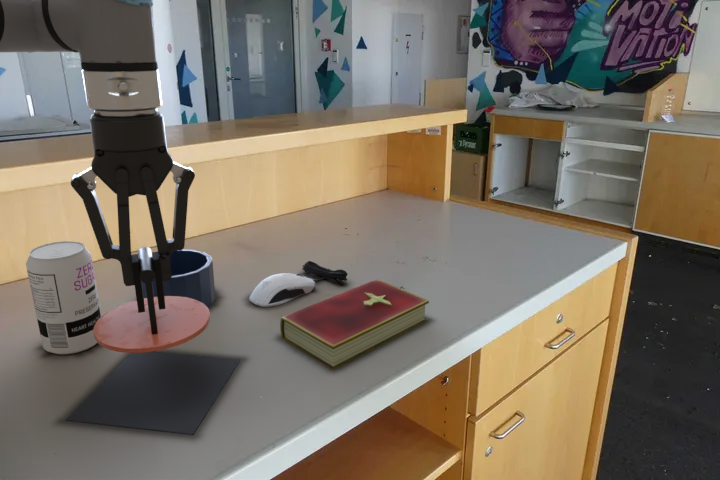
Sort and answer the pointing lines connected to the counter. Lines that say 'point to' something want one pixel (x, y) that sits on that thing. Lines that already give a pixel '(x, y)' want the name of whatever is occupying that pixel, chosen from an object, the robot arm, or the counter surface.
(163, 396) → the mat
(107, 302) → the counter surface
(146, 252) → the lid
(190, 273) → the lunch tin
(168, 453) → the counter surface
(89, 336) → the supplement can
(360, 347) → the hardcover book
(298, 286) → the computer mouse
